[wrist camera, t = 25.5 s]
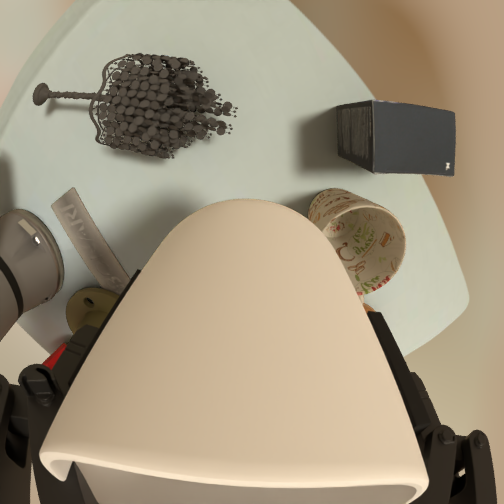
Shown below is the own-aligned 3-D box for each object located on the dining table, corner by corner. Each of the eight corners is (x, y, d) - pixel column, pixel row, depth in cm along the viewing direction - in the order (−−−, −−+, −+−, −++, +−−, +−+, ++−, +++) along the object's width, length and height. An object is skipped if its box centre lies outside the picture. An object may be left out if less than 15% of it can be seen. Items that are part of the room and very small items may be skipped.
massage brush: (23, 152, 22) (69, 106, 27) (212, 194, 24) (235, 134, 29) (3, 80, 14) (62, 41, 19) (232, 98, 16) (255, 57, 21)
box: (400, 109, 26) (457, 111, 16) (400, 158, 28) (455, 179, 18) (334, 104, 26) (372, 98, 16) (336, 156, 28) (373, 175, 19)
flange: (112, 301, 31) (38, 312, 32) (162, 382, 37) (88, 381, 39) (126, 280, 35) (53, 294, 37) (169, 359, 41) (97, 362, 43)
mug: (359, 168, 29) (400, 193, 20) (377, 264, 34) (410, 313, 25) (287, 190, 30) (301, 223, 21) (316, 284, 35) (332, 339, 27)
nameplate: (165, 329, 39) (140, 337, 40) (166, 328, 39) (141, 336, 40) (72, 187, 30) (50, 205, 31) (73, 186, 30) (51, 205, 31)
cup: (251, 150, 10) (193, 378, 1) (399, 326, 14) (469, 487, 5) (126, 276, 13) (18, 460, 4) (285, 395, 17) (292, 544, 8)
